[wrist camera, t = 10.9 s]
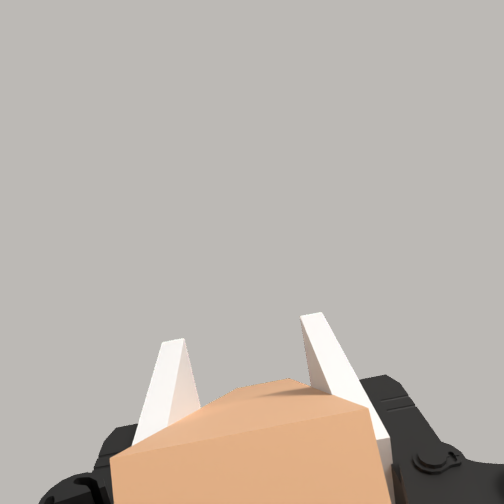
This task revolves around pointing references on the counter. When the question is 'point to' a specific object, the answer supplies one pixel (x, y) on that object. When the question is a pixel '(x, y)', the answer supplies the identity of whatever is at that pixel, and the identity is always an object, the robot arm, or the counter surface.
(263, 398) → the slat
